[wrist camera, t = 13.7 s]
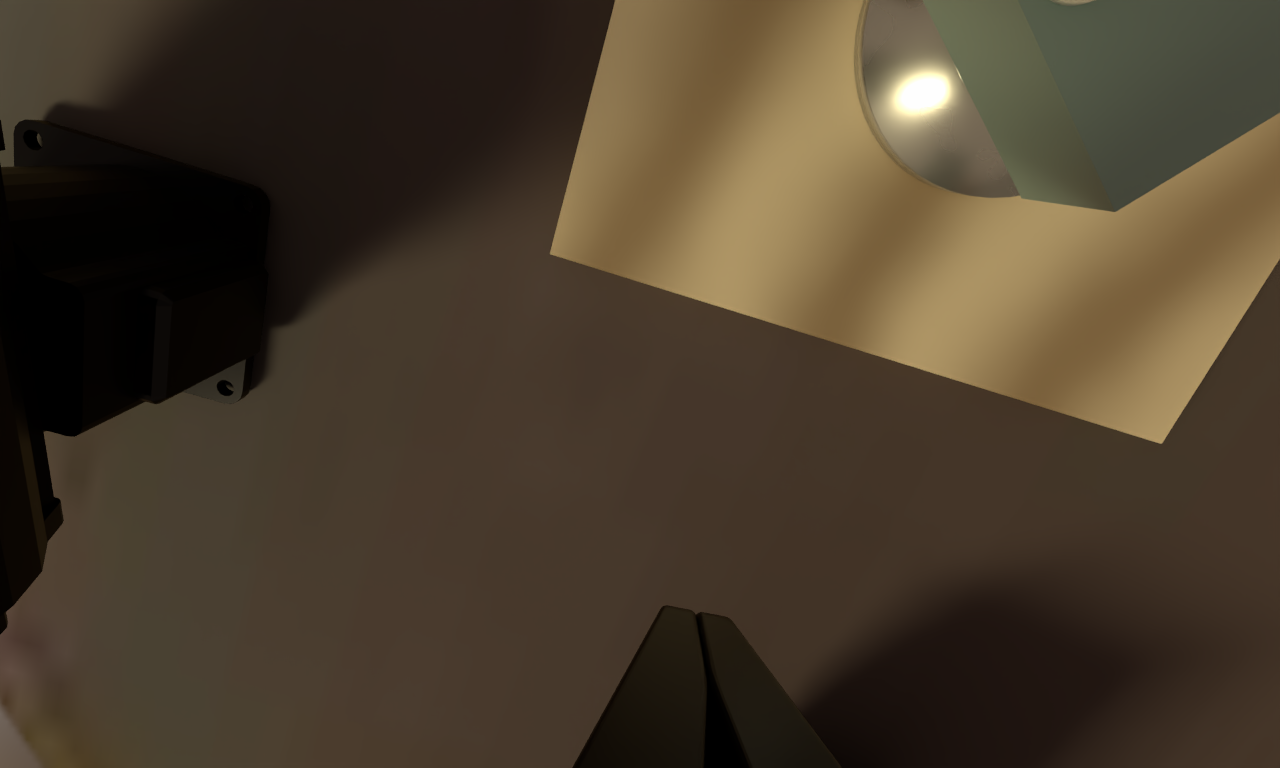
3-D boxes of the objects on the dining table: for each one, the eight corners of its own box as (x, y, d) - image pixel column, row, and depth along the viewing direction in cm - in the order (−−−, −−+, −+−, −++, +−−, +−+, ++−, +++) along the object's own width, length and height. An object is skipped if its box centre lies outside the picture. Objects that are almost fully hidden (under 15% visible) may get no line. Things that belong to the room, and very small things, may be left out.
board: (555, 248, 18) (550, 254, 18) (757, -527, 13) (764, -579, 12) (1137, 429, 20) (1161, 443, 19) (1534, -211, 14) (1594, -236, 14)
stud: (808, 146, 16) (839, 146, 14) (932, -188, 14) (1000, -271, 11) (1065, 231, 17) (1146, 247, 14) (1225, -78, 15) (1360, -131, 12)
